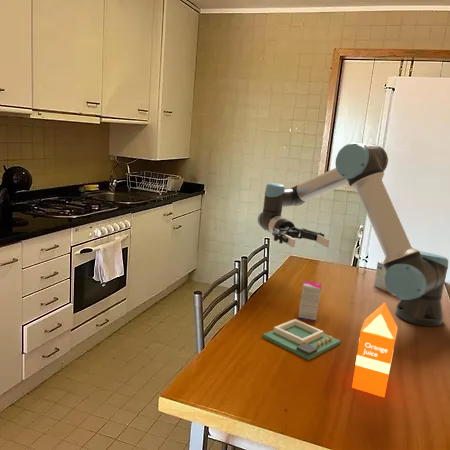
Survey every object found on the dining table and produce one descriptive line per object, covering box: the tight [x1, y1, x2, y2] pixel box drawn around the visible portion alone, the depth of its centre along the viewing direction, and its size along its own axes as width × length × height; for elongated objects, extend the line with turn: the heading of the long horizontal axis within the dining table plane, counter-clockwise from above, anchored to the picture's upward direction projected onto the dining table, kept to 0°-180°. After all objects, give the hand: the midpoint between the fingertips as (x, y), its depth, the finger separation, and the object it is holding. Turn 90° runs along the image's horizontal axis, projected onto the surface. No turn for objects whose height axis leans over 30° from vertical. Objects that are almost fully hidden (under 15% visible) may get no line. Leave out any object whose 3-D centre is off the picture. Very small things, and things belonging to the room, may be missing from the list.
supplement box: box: [297, 280, 322, 322], centre depth 144 cm, size 6×6×12 cm
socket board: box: [262, 318, 342, 361], centre depth 128 cm, size 16×16×2 cm
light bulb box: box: [373, 260, 390, 293], centre depth 180 cm, size 11×7×11 cm, turn 34°
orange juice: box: [351, 301, 398, 398], centre depth 106 cm, size 8×9×20 cm
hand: (311, 243), depth 152 cm, fingers open, 13 cm apart
